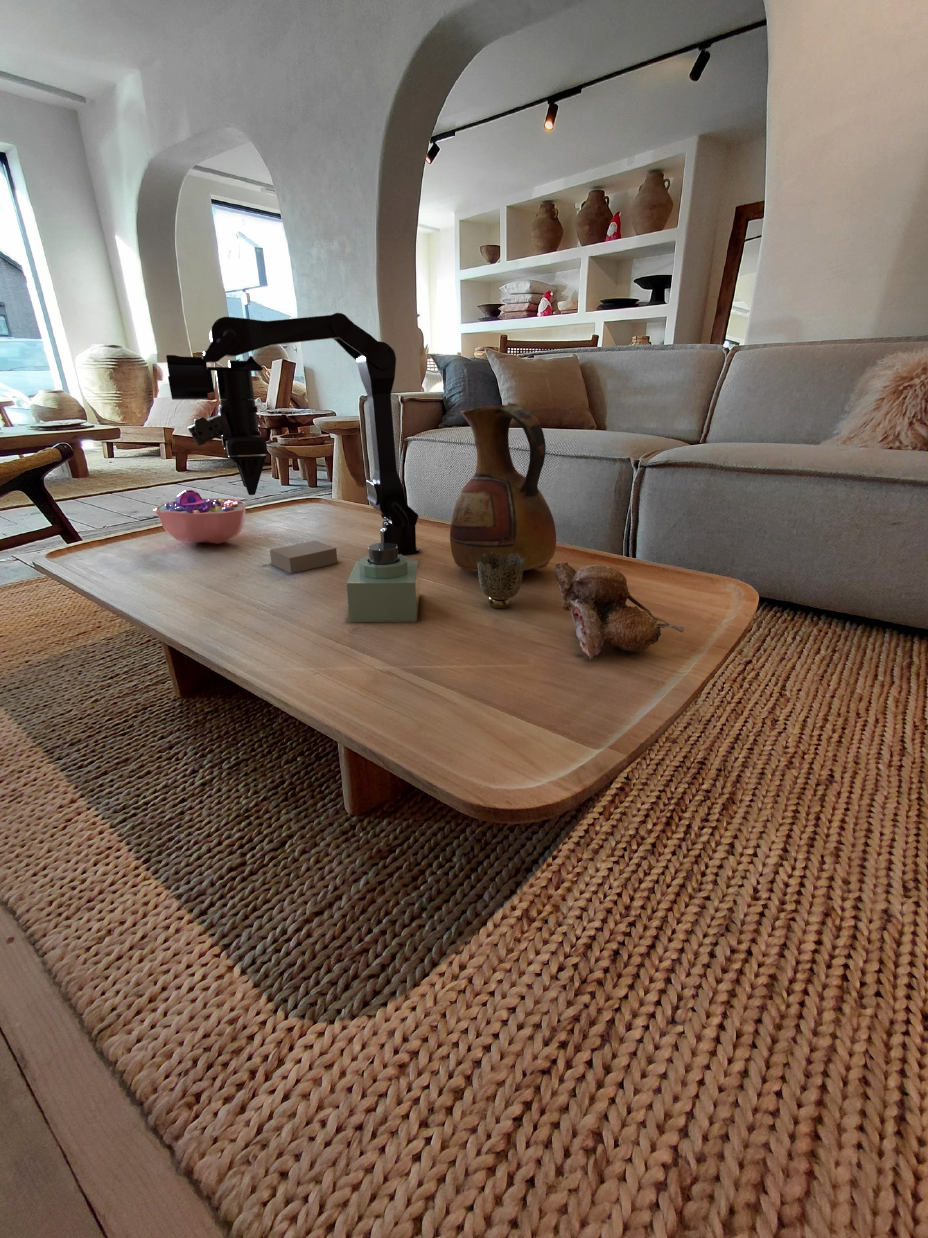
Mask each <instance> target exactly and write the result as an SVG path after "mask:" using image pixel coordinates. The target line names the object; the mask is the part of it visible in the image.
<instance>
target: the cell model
mask: <svg viewBox="0 0 928 1238" xmlns="http://www.w3.org/2000/svg"><path fill="white" fill-rule="evenodd" d="M246 509H247V503H246V502H245V501H243V500H240V499H237V498H213V497H212V498H202V496H201V495H200V493H199V492H197V491H195V490H192V489H186V490H183V491H182V492H180V493H179V494H178V495H177V496H176V498H175V500H174V501H171V502H167V503H163V504H161V505H158V506H157V507H156V508H154V509H153V511H154V513H155V514H156V515H157V517H158V519H159V520H160V523H161V527H162V528H163V529H164V530H165V531H166V532H167V533H168V534H169V535H170V536H171V537H172V538H173V539H175V540H176V541H179V542H181V543H185V544H208V543H211V544H217V545H218V544H223V543H226V542H227V541H231V540H233V539H234V538H236V537H238V536H239V535H240V534H241V532H242V531H243V529H244V526H245V523H246V517H247V516H246Z"/></svg>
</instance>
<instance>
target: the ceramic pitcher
mask: <svg viewBox="0 0 928 1238" xmlns="http://www.w3.org/2000/svg"><path fill="white" fill-rule="evenodd" d="M459 413H460V415H461V416H462V417H463V418H464V420H466V422H467V423H468V425H469V426H470V428H471V431H472V434H473V438H474V445H475V450H476V466H475V472H474V474H473V476H472V477H471V478H470V479H469V480H468V481H467V483H466V484H465V485H464V486H463V488H462V489H461V490H460V493H459V495H458V497H457V499H456V500H455V505H454V509H453V512H452V516H451V523H450V530H449V543H450V550H451V555H452V558H453V561H454V563H455V564H456V565H457V566H458V567H459V568H462V569H465V570H468V571H473V572H478V566H477V557H478V558H479V555H481V557H482V558H483V555H484V553H486V555H487V556H489V554H490V553H491V552H492V551H493V552H495V554H496V555H497V554H498V553H499V552H500V553H501V556H502V557H507V558H508V556H509V554H510V553H512V554H513V555H514V556H515V555H516V554H519V555H520V557H521V559H522V558H523V557H524V559H525V563H524V568H523V572H524V571H530V570H533V569H538V568H539V569H542V568H546V567H547V566H548V565H549V564H550V561H551V560H552V559H553V558H554V555H555V553H556V548H557V532H556V531H557V530H556V525H555V520H554V519H555V518H554V517H553V514H552V512H551V509H550V506H549V505H548V502H547V500H546V499H545V497H544V495H543V494H542V492H541V490H540V489H539V487H538V485H539V481H540V477H541V474H542V470H543V468H544V467H543V466H544V464H545V459H546V450H547V446H546V439H545V434H544V431H543V428H542V425H541V422H540V421H539V419H538V417H537V416H536V415H535V414H534V413H532V412H531V411H530V410H529V409H528V408H527V407H525V406H522V405H520V404H518V403H513V402H508V403H507V404H506V405H505V404H500V405H499V404H498V405H497V404H494V405H487V406H480V407H475V408H471V409H466V410H465V409H464V410H463V409H462V410H460V412H459ZM512 420H514V421H515V422H517V424H519V426H520V427H521V429H522V430H523V432H524V434H525V436H526V439H527V442H528V446H529V462H528V467H527V471H526V475H523V474H521V473H520V472H519V471H517V469H516V468H515V465H514V463H513V460H512V456H511V451H510V443H509V442H510V441H509V432H510V427H511V423H512Z"/></svg>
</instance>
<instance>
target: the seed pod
mask: <svg viewBox="0 0 928 1238" xmlns="http://www.w3.org/2000/svg"><path fill="white" fill-rule="evenodd" d="M554 570H555V575H554V576H555V577H556V578H555V579H556V580H555V582H556V583H557V585H558V587H559V590H560V594H561V609H562V610H563V611H564V612H569V613H570V617H571V619H572V621H573V625H574V629H575V635H576V637H577V639H578V641H579V647H580V648H581V652H583V653H585V654H586V655H587V656H588V658H589V661H591V660H592V659H593V657H594V656H598V655H599V654H600V653H601V651H602V648H603V646H604V644H605V642H606V643H609V644H610V645H612V646H615V647H617V648H619V650H622V651H623V652H625V651H633V652H634V653H636V652H638V651H640V652H641V651H644V650H647V649H649V647H650V646H653V645H654V644H655V643H658V641H659V638H660V636H662V632H661V629H666V628H670V629H674V630H675V631H678V632H679V633H682V634H684V632H685V627H683V626H677V625H674V624H672V623H670V622H668V621H666V620H665V619H663V618H660V617H657V616H655V615H653V613H652V612H651V611H650V610H649V609H648V608H647V607H645V606H644V605H643V604H642V603H640V602H639V601H638V600H636V599H635V598H634V597H633V595H631V592H630V591H629V587H628V585H627V584H628V582H627V578H626V576H625V575H624V574H623V572H622V571H621V570H619V569H617V568H614V567H612V566H609V565H607V564H600V563H599V564H589V565H583V566H582V567H580V568H579V569H577V570H576V569H575V568H573V566H570V565H569V562H560V563H555V568H554ZM627 601H630V602H631V603H632V604H634V605H635V606H630V605H629V606H628V605H627V604H626V603H627ZM639 608H640V609H639ZM658 622H661V623H658Z"/></svg>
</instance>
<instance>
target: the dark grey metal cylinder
mask: <svg viewBox="0 0 928 1238" xmlns="http://www.w3.org/2000/svg"><path fill="white" fill-rule="evenodd" d="M367 550H368V555H369V563H370V564H375V565H388V564H394V563H397V562H398V546H397V545H396V544H393V543H381V542H376V543H371V544H370V545H369V546H368V549H367Z"/></svg>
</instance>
